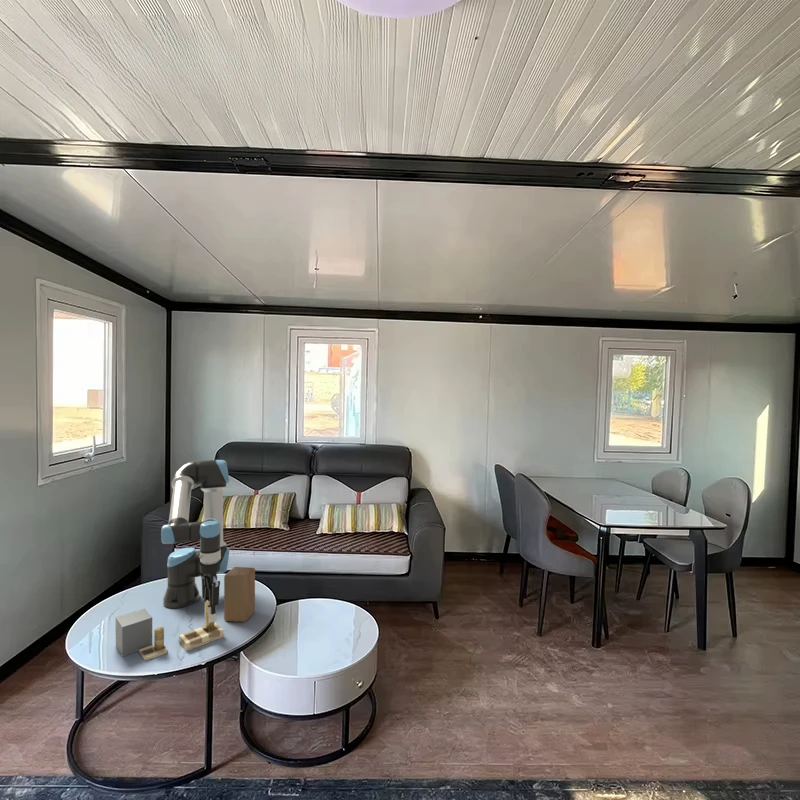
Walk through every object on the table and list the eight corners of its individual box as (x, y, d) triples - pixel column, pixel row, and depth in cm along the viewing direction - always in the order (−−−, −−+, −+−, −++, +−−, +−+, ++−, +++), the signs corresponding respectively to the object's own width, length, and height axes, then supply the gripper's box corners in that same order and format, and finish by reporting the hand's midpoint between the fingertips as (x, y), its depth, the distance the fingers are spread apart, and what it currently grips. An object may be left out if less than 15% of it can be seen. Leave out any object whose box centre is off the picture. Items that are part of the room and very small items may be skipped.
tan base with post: (139, 652, 166) (139, 631, 166) (161, 644, 171) (161, 623, 171) (145, 660, 160) (145, 639, 160) (167, 652, 166) (167, 631, 166)
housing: (115, 645, 170) (115, 617, 170) (144, 635, 177) (144, 608, 177) (122, 656, 163) (122, 627, 163) (152, 645, 170) (152, 617, 170)
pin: (204, 630, 176) (204, 600, 176) (212, 627, 179) (212, 597, 179) (207, 633, 174) (207, 603, 174) (215, 630, 176) (215, 600, 176)
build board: (179, 642, 172) (179, 635, 172) (215, 629, 182) (215, 622, 182) (186, 651, 166) (186, 643, 166) (223, 637, 176) (223, 629, 176)
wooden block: (255, 611, 197) (255, 566, 197) (245, 623, 187) (245, 576, 187) (234, 610, 198) (234, 565, 198) (223, 621, 188) (223, 575, 188)
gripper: (192, 558, 179) (193, 615, 180) (208, 569, 168) (209, 630, 168) (211, 553, 185) (211, 609, 185) (228, 564, 173) (228, 623, 173)
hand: (210, 619), depth 176 cm, fingers closed on pin, 3 cm apart
